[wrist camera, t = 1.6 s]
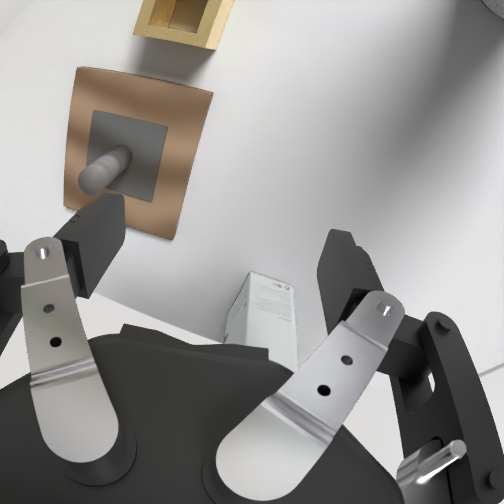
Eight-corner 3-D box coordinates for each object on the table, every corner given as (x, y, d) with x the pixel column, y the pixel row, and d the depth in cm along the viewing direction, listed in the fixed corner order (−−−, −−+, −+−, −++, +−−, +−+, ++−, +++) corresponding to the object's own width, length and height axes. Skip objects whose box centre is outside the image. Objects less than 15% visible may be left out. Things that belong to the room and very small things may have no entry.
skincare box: (250, 269, 37) (239, 379, 25) (297, 285, 38) (303, 394, 26) (226, 314, 42) (210, 415, 29) (268, 328, 43) (264, 427, 30)
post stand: (83, 66, 24) (33, 76, 17) (213, 92, 26) (193, 105, 19) (68, 201, 33) (31, 237, 26) (175, 234, 35) (154, 280, 28)
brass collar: (173, -20, 19) (155, -32, 15) (237, -9, 20) (230, -21, 16) (154, 36, 23) (132, 34, 19) (216, 49, 24) (205, 48, 20)
